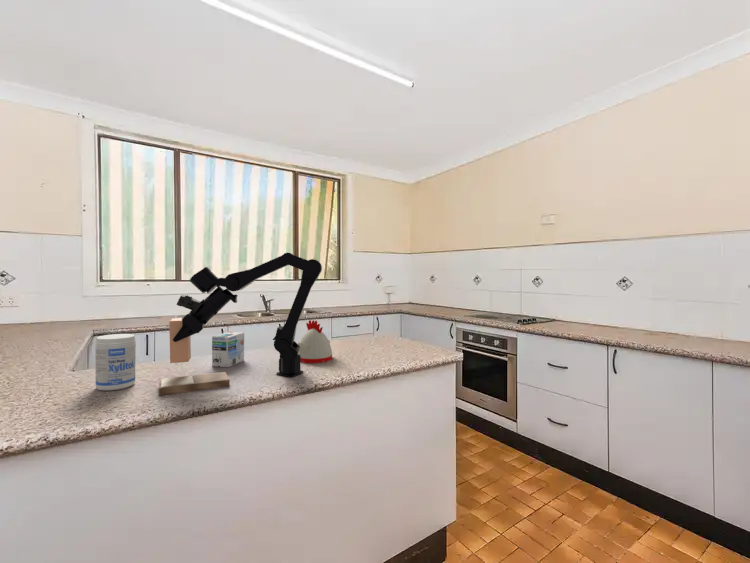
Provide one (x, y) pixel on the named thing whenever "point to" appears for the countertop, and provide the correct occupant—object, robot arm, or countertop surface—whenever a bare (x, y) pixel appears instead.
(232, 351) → the light bulb box
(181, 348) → the pillar
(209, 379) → the base board
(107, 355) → the supplement tub
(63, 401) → the countertop surface
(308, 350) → the kitchen timer
